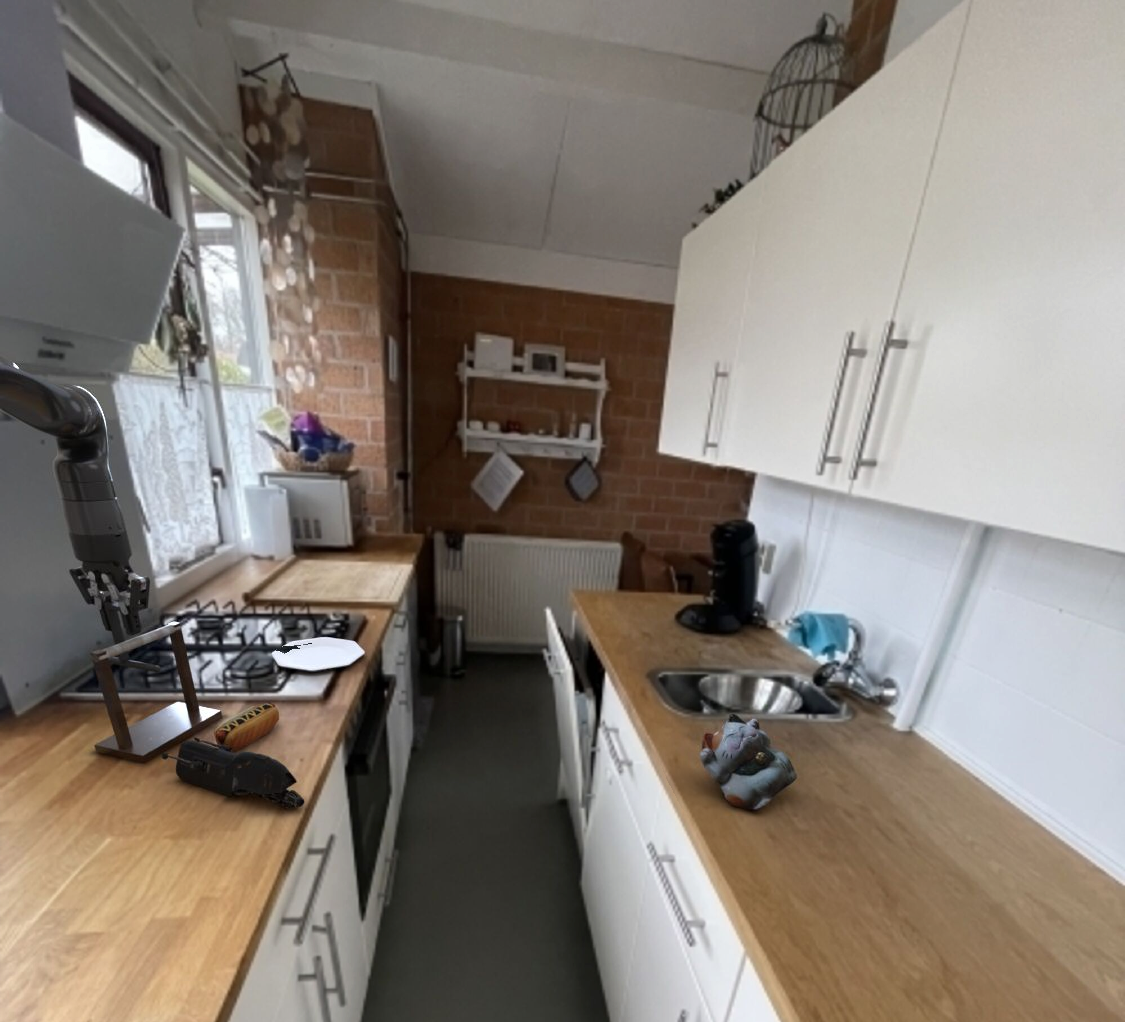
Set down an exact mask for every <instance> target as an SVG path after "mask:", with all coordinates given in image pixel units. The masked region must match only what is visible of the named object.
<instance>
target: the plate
mask: <svg viewBox="0 0 1125 1022" xmlns="http://www.w3.org/2000/svg"><path fill="white" fill-rule="evenodd" d="M308 643H312V644H308ZM303 644H308V645H303ZM294 645H301V646H297V647H298V648H300V649H292V650H290V651H289V652H287V653H285V654H284V653H282V652H280V651H276V650H274V651H272V653H271V656H272V658H273V660H274V662H275V663H276V665H277V666H278V667H280V668H281V669H283V668H284V669H288V670H289V669H290V670H296V671H303V672H310V673H316V672H322V670H323V671H328V670H327V669H329V670H333V669H332V668H335V669H340V668H347V667H350V666H352V664H354V663H355V662H356V661H358V660H359V659H360V658H362V657H363V656H364V655H366V652H365V650H364V649H363V648H362V647H361V646H360V645H359V644H358V643H357V642H356V641H354V640H350V639H349V640H348V639H342V638H335V637H328V636H323V637H322V636H321V637H314V638H307V639H299V640H293V641H290V642H288V643H286V644H284V645H283V646H294Z"/></svg>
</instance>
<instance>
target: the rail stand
mask: <svg viewBox="0 0 1125 1022" xmlns="http://www.w3.org/2000/svg"><path fill="white" fill-rule="evenodd" d="M167 636H169V638H170V639H169V640H170V643H171V648H172V652H173V656H174V660H175V664H176V669H177V673H178V678H179V681H180V686H181V687H180V688H181V692H182V696H183V699H184V702H181V701H176V702H174V703H172V704H171V705H168V706H167V707H164V708H162V709H160V710H159V711H157V712H155V713H153V714H151V715H149V716H147V717H145V718H143V719H141V720H139V721H138V722H135V723H133V724H132V725H128V723H127V719H126V716H125V712H124V708H123V706H122V701H121V698H120V696H119V691H118V687H117V684H116V681H115V677H114V673H113V670H112V666H111V663H109V658H112V657H118V655H119V654H122V653H124V652H127V651H128V652H129V651H132V650H134V649H137V648H140V647H142V646H144V645H148V644H149V643H152V642H155V641H158V640H160V639H163V638H164V637H167ZM187 651H188V650H187V647H186V643H185V637H184V634H183V630H182V625H181V622H177V621H172V622H169V623H167V624H166V625H164V626H161V627H159V628H156V629H153V630H151V631H148V632H146V633H143V634H141V635H138V636H135V637H132V638H130V639H127V640H125V641H124V642H122V643H119V644H116V645H115V644H113V645H110V646H109V647H105V648H103V649H97V650H94V651H91V652H90V653H89V654H90V658H91V661H92V663H93V667H94V670H95V674H96V678H97V681H98V684H99V687H100V689H101V694H102V698H103V701H104V704H105V707H106V711H107V713H108V717H109V720H110V724H111V728H112V731H113V735H111V736H109V737H106V738H105V739H103V740H101V741H99V742H97V743H95V744H94V745H93V746H94V749H95V752H96V753H99V754H102V755H107V756H111V757H116V758H120V759H124V760H129V761H133V762H138V763H141V764H142V763H143V764H146V763H148V762H149V761H151V760H153V759H154V758H156V757H158V756H160V755H162V753H166V751H169V750H170V749H172V748H173V747H175V746H176V745H178V744H181V743H183V742H184V741H186V739H189V738H191V737H192V736H193V735H195V734H197V733H199V732H200V731H202V730H203V729H205V728H207V727H209V726H210V725H212V724H214V723H216V722H217V721H218V720H221V719H222V718H223V713H222V710H221V709H215V708H211V707H205V706H200V705H199V701H198V695H197V691H196V687H195V683H194V678H193V674H192V669H191V665H190V661H189V656H188V652H187Z"/></svg>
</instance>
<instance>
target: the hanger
mask: <svg viewBox="0 0 1125 1022" xmlns="http://www.w3.org/2000/svg"><path fill="white" fill-rule="evenodd" d="M129 605H130V604H127V606H129ZM104 607H105V611H106V615H107V618H108V622H109V625H110V628H111V631H110V632H111V635H112V638H113V642H114V645H116V644H119V643H122V642H124V641H126V640H125V636H124V632H123V628H124V629H125V625H124V621H123V617H122V614H123V613H122V611H121V609H120V607H119V604H118V602H117V601H114V602H110V603H106V604H104ZM119 614H120V615H119ZM120 617H121V619H120ZM121 623H122V625H123V628H122V625H121ZM109 663H110V664H112V665H117V666H121V667H122V666H123V667H127V668H133V669H137V670H142V671H147V672H152V673H159V672H161V670H162V668H161V666H160V665H156V664H151V663H148V662H147V663H145V662H141V661H137V660H131V659H130V655H129V651H127V652H124V653H122V654H119V655H117V656H114V657H112V658H109Z"/></svg>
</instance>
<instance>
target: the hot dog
mask: <svg viewBox="0 0 1125 1022" xmlns="http://www.w3.org/2000/svg"><path fill="white" fill-rule="evenodd" d="M279 720H280V712H279V709H278V708H277V706H276V705H275V703H273V702H265V703H264V704H262V703H261V704H256V705H253V706H250V707H249V708H247V709H244V710H243V711H240V712H239V713H237V714H236V715H233V716H232V717H230V718H228V719H227V720H225V721H224V722H222V723H220V724H219V725H218V726H217V727H216V728H215V729H214V731H213V734H214V739H215V742H216V744H217V745H218V744H219V745H225V746H228V747H230V748H231V749H232V752H233V751H238V750H241V749H243V748H245V747H246V746H249V745H250V744H253V743H255V741H257V740H259V739H260V738H261V737H263V736H265V735H266V734H267V733H269V732H270V731H271V730H273V729H274V728H275V726H276V725H277V723H278V722H279Z"/></svg>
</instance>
